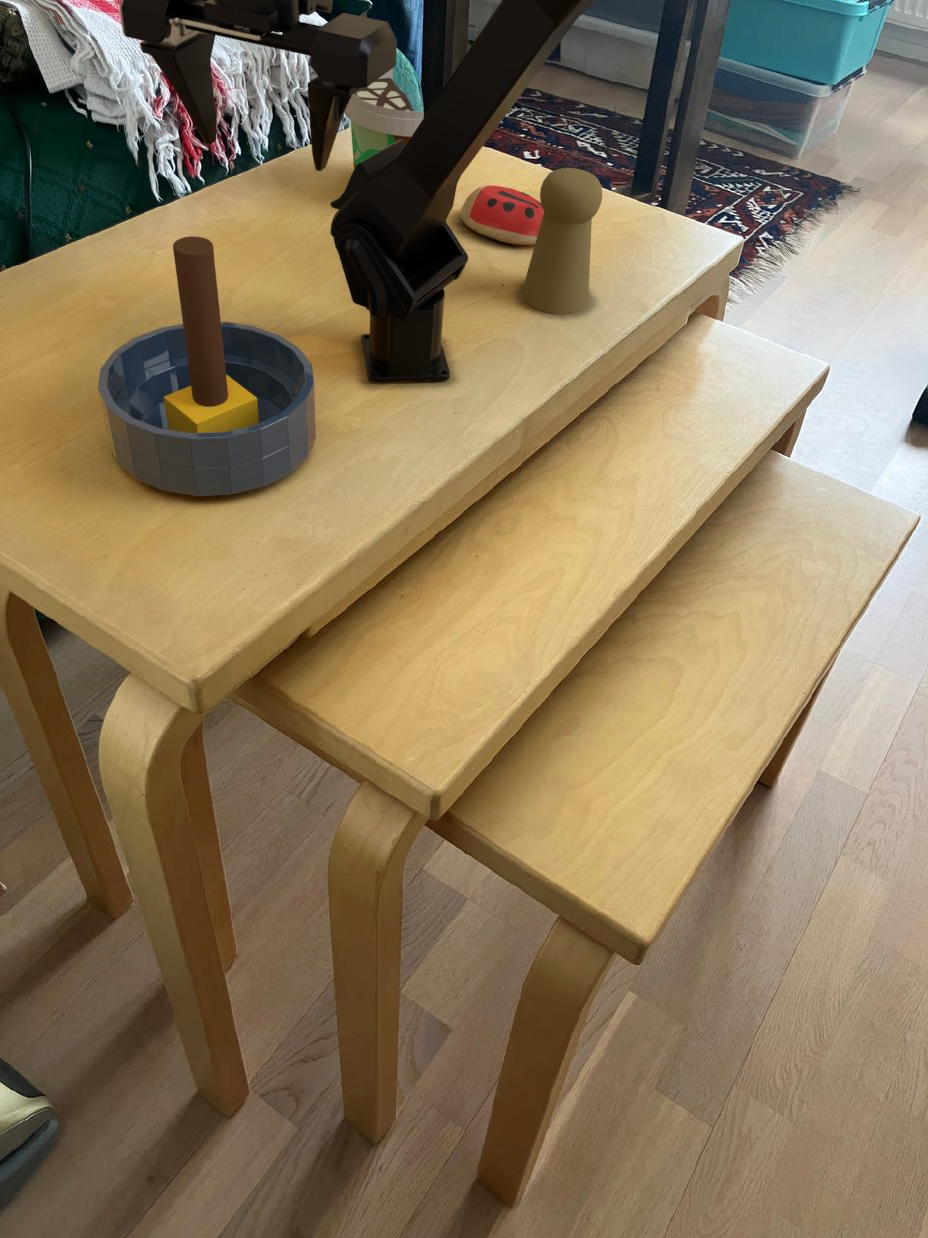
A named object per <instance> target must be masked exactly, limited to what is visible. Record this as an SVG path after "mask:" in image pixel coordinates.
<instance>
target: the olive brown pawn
mask: <svg viewBox="0 0 928 1238" xmlns="http://www.w3.org/2000/svg"><path fill="white" fill-rule="evenodd" d="M539 199H540V203H541V206H542V208H543V210H544V214H543V217H542V221H541V225H540V228H539V232H538V236H537V239H536V243H535V244H534V245H533V249H532V254H531V257H530V261H529V265H528V268H527V272H526V276H525V280H524V282H523V283H524V284H523V287H522V289H521V296H522V298H523V300H524V302H525V303H526V304H527V305H529V306H530V307H532V308H535V309H536V310H538V311H541V312H544V313H549V314H555V315H567V314H568V315H569V314H574V313H577V312H580V311H582V310H583V309H585V308H586V307H587V305H588V303H589V295H590V294H589V292H590V270H591V269H590V268H591V246H592V223H593V218H594V217H595V216H596V214H597V213H598V211H599V209H600V207H601V205H602V201H603V188H602V185H601V182H600V180H599V179H598V177H596V176H595V175H593V174H592V173H591V172H589V171H587V170H585V169H580V168H573V167H562V168H558V169H554V170H553V171H550V172H549V173H548V174H547V175H546V177H545V178H544V179H543V181H542V183H541V186H540V192H539Z"/></svg>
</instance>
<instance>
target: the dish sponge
mask: <svg viewBox="0 0 928 1238" xmlns="http://www.w3.org/2000/svg"><path fill="white" fill-rule="evenodd" d="M172 250H173V258H174V267H175V273H176V280H177V281H176V282H177V288H178V297H179V304H180V311H181V319H182V324H183V328H184V335H185V343H186V351H187V358H188V366H189V374H190V381H191V386H189V387H187V388H184V389H182V390H179V391H177V392H174V393H172V394H169V395H166V396H164V403H165V409H166V416H167V422H168V429H169V430H173V431H180V432H186V433H214V432H227V431H232V430H236V429H241V428H245V427H250V426H254V425H257V424H259V416H258V403H257V398H256V397H255V396H254V395H252V394H251V393H250V392H249V391H247V390H246V389H245V388H243V387H242V386H241V385H239V384H238V383H237V382H235V381H234V380H233V379H232V378H230V377H229V376H228V375H226V369H225V359H224V349H223V339H222V329H221V322H222V320H221V311H220V301H219V292H218V291H219V289H218V281H217V270H216V262H215V252H214V244H213V243H212V241H211V240H210V239H208V238H205V237H202V236H196V235H195V236H193V235H192V236H184V237H181V238H179V239H177V240H175V241H174V243H173V245H172Z"/></svg>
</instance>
